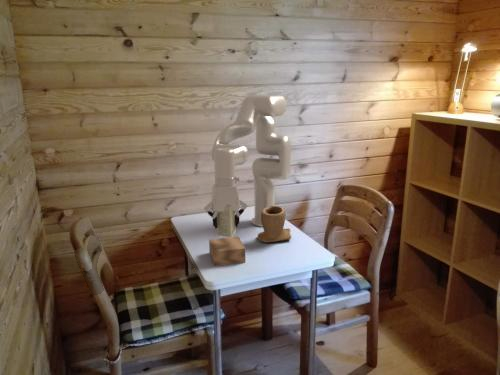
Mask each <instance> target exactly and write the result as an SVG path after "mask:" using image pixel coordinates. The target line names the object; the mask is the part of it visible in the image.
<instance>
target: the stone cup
mask: <svg viewBox="0 0 500 375" xmlns="http://www.w3.org/2000/svg"><path fill="white" fill-rule="evenodd" d="M286 215H287V214H286V211H285V208H283V207H282V206H280V205H275V206H270V207H266V208H264V209H263V210H262V212H261V223H262V226H263V227H262V229H263V231H260V232H258V234H257V238H258V240H259V241H260V242H263V243H274V242H275V243H276V242H281V241H288V240H290V239H292V234H291V229H290V228H284V227H285V226H284V225H285V222H286V217H287V216H286Z"/></svg>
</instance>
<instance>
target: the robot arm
mask: <svg viewBox="0 0 500 375" xmlns="http://www.w3.org/2000/svg"><path fill="white" fill-rule="evenodd" d="M286 110H287V100H286V99H285V97H284V96H283V95H273V94H272V95H271V94H270V95H268V94H267V95H266V94H265V95H263V94H259V95H254V94H252V95H248V96H246V97H245V98H244V99H243V101H242V103H241V106H240V108H239V111H238V113H237V115H236V118H235V119H234V121H233V122H232V123H230V124H229V125H228V126H226V127H225V128H223V130H221V131H220V132H219V133H218V134H217V136H216V138H215V140H214V142H213V145H212V148H211V155H210V156H211V159H212V160H213V162H214V164H213V165H214V184H213V185H212V189H211V201H209V202H208V204H206V205H204V207H203V209H204V212H206V213H207V214H208V216H210V217H211V218H212V227H214V229H216V230H217V218H216V216H217V214H218V212H224V210H225V206H232V211H234V212H235V222H236V228H238V227H239V225H240V217H241V215H242V214H243V213H244V212H245V211H246V209H247V208H248V205H247V203H245V202H244V201H242V200H240V197H239V188H238V184H237V182H240V177H236V166H242V165H244V164H246V163H247V161H248V160H249V158H250V152H249V150H248V148H247V147H246V146H244V145H243V144H242V145H241V144H230V143H231V142H233V141H235V140H238V139H241V138H244V137H247V136H249V135H251V134H252V133H254V131H255V130H256V131H255V132H256V134H255V136H256V137H255V149H256V153H258V154H260V155H264V156H277V157H278V158H275V157H257V158H255V159H254V160H253V162H252V164H251V170H252V174H253V175H252V176H253V183H254V184H253V185H254V186H253V187H254V189H253V190H254V194H253V195H254V217H253V218H252V219H251V224H252V225H254V226H257V227H262V228H263V226H262V223H261V212H262V210H263V209H264V208H266V207H270V206H276V205H275V195H276V194H275V193H276V191H275V190H276V189H275V188H276V187H275V184H274V182H273V181H272V180H280V181H281V180H282V181H283V180H287V179H288V178H289V176H290V172H291V154H292V152H291V151H292V149H291V148H292V146H291V145H292V144H291V139H290V137H289V136H288V135H285V134H276V122H275V120H274V117H280V116H283V114H285V112H286ZM240 206H241V207H240ZM210 208H211V209H212V211H211V210H210Z"/></svg>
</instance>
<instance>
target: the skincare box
mask: <svg viewBox="0 0 500 375" xmlns="http://www.w3.org/2000/svg"><path fill="white" fill-rule="evenodd" d="M235 215H236V213H235V212H234V211H232V206H225V210H224V212H218V214H217V216H216V218H217V229H216V233H217V236H221V237H225V238H230V237H234V236H235V235H236V234H237V227H236V222H235Z"/></svg>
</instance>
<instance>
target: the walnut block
mask: <svg viewBox="0 0 500 375" xmlns="http://www.w3.org/2000/svg"><path fill="white" fill-rule="evenodd" d="M208 242H209V243H208V244H209V246H208V248H209V255H211V256H210V258H212V259H211V261H212V263H213V266H214V267H216V266H217V265H218V266H224V265H233V264H243V263H246V247H245V245H244V244H243V241H242V240H241V238H240V237H239V236H232V237H221V238H211V239H209V240H208ZM218 266H217V267H218Z"/></svg>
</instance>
